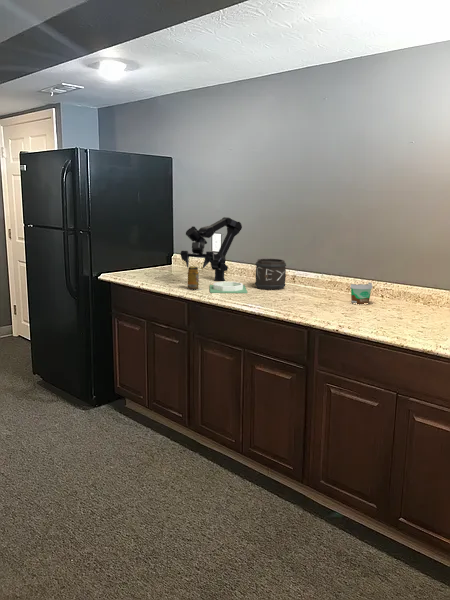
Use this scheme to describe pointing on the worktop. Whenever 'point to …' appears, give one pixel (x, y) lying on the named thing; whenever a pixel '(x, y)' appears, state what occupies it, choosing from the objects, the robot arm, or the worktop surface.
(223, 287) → the white octagonal fence
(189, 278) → the yellow bottle can
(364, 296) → the food container
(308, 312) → the worktop surface
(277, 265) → the lettered dark canister
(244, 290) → the green mat
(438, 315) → the worktop surface
